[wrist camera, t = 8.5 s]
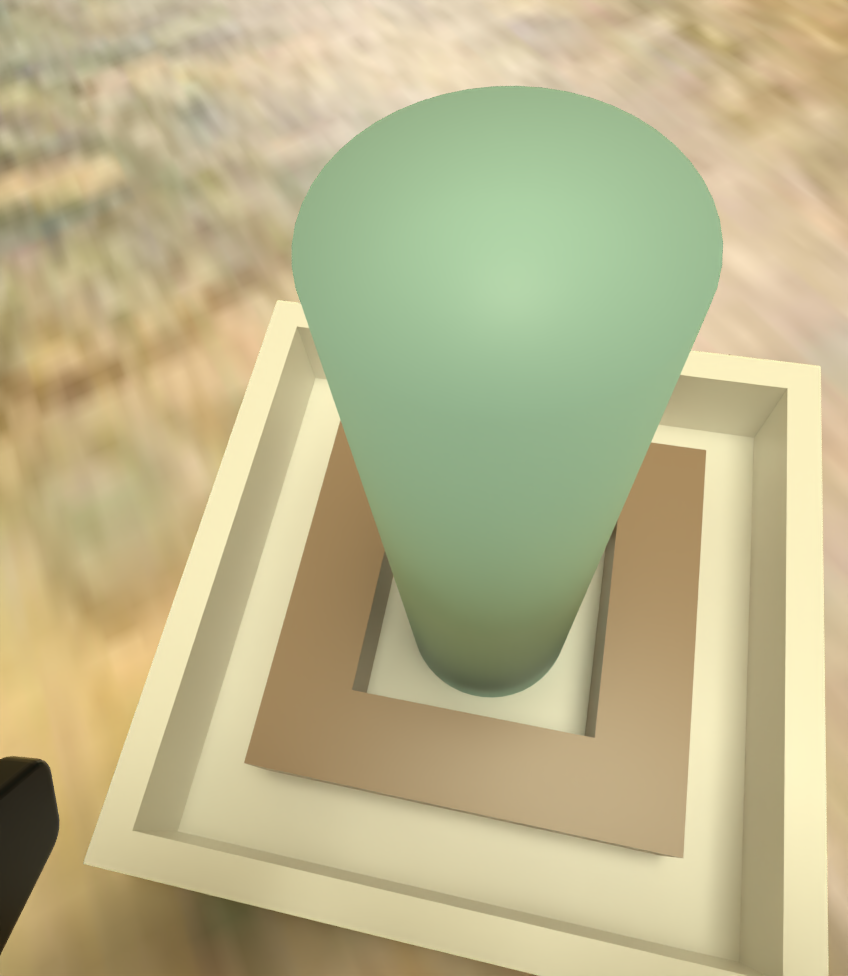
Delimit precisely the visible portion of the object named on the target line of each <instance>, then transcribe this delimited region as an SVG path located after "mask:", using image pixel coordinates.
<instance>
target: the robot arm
mask: <svg viewBox="0 0 848 976" xmlns="http://www.w3.org/2000/svg"><path fill="white" fill-rule="evenodd" d="M58 831H59V814H58V809H57V803H56V797H55V792H54V786H53V780H52V775H51V770H50V767H49V766H48V764H47V763H46V762H45V761H43V760H41V759H36V758H26V757H16V756H12V757H5V758H2V759H0V954H1V952H2V950H3V948H4V946H5V944H6V942H7V940H8V938H9V936H10V934H11V932H12V930H13V928H14V926H15V924H16V922H17V920H18V918H19V916H20V914H21V912H22V910H23V908H24V906H25V904H26V902H27V900H28V898H29V896H30V894H31V892H32V890H33V888H34V886H35V884H36V882H37V880H38V878H39V876H40V874H41V872H42V870H43V867H44V865H45V863H46V861H47V859H48V857H49V855H50V853H51V851H52V849H53V847H54V845H55V842H56V839H57V836H58Z"/></svg>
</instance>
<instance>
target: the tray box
mask: <svg viewBox="0 0 848 976" xmlns="http://www.w3.org/2000/svg"><path fill="white" fill-rule="evenodd" d="M83 864H86V865H90V866H94V867H98V868H102V869H106V870H110V871H114V872H118V873H122V874H126V875H130V876H135V877H139V878H143V879H147V880H151V881H155V882H159V883H163V884H167V885H171V886H175V887H179V888H183V889H188V890H192V891H196V892H200V893H204V894H208V895H212V896H216V897H220V898H224V899H228V900H232V901H236V902H241V903H245V904H249V905H253V906H257V907H261V908H265V909H269V910H273V911H277V912H281V913H285V914H289V915H294V916H298V917H302V918H306V919H310V920H314V921H318V922H322V923H326V924H330V925H334V926H338V927H342V928H347V929H351V930H355V931H359V932H363V933H367V934H371V935H375V936H379V937H383V938H387V939H391V940H395V941H400V942H404V943H408V944H412V945H416V946H420V947H424V948H428V949H432V950H436V951H440V952H444V953H448V954H453V955H457V956H461V957H465V958H469V959H473V960H477V961H481V962H485V963H489V964H493V965H497V966H501V967H506V968H510V969H514V970H518V971H522V972H526V973H530V974H534V975H538V976H829V971H828V894H827V818H826V741H825V665H824V588H823V512H822V435H821V366H815V365H807V364H799V363H791V362H782V361H774V360H766V359H758V358H750V357H741V356H733V355H725V354H717V353H708V352H700V351H692V350H691V351H690V353H689V356H688V358H687V360H686V362H685V365H684V367H683V369H682V372H681V374H680V376H679V379H678V381H677V383H676V386H675V388H674V390H673V393H672V395H671V397H670V400H669V402H668V404H667V407H666V409H665V411H664V413H663V416H662V418H661V420H660V423H659V425H658V427H657V430H656V432H655V434H654V437H653V439H652V441H651V444H650V446H649V448H648V451H647V453H646V455H645V457H644V460H643V462H642V464H641V467H640V469H639V471H638V474H637V476H636V478H635V481H634V483H633V485H632V488H631V490H630V492H629V495H628V497H627V499H626V502H625V504H624V506H623V508H622V511H621V513H620V515H619V518H618V520H617V522H616V525H615V527H614V529H613V532H612V534H611V536H610V539H609V541H608V543H607V546H606V548H605V550H604V553H603V555H602V557H601V559H600V562H599V564H598V566H597V569H596V571H595V573H594V576H593V578H592V580H591V583H590V585H589V587H588V590H587V592H586V594H585V597H584V599H583V601H582V603H581V606H580V608H579V610H578V613H577V615H576V617H575V620H574V622H573V624H572V627H571V629H570V631H569V634H568V636H567V638H566V641H565V643H564V645H563V648H562V650H561V652H560V654H559V657H558V658H557V660H556V662H555V663H554V665H553V666H552V668H551V669H550V670H549V671H548V673H547V674H546V675H545V676H544V677H543V678H542V679H540V680H539V681H538V682H536V683H535V684H534V685H532V686H531V687H529V688H527V689H525V690H523V691H521V692H518V693H515V694H512V695H508V696H503V697H493V698H492V697H479V696H474V695H470V694H467V693H464V692H461V691H459V690H457V689H455V688H452V687H451V686H449V685H448V684H446V683H445V682H443V681H442V680H441V679H440V678H439V677H437V676H436V675H435V674H434V672H433V671H432V670H431V669H430V668H429V667H428V665H427V664H426V662H425V661H424V659H423V657H422V656H421V654H420V652H419V649H418V646H417V644H416V641H415V638H414V635H413V632H412V629H411V626H410V623H409V620H408V617H407V614H406V611H405V608H404V605H403V602H402V599H401V597H400V594H399V591H398V588H397V585H396V582H395V579H394V576H393V573H392V570H391V567H390V564H389V561H388V558H387V555H386V552H385V549H384V547H383V544H382V541H381V538H380V535H379V532H378V529H377V526H376V523H375V520H374V517H373V514H372V511H371V508H370V505H369V502H368V499H367V497H366V494H365V491H364V488H363V485H362V482H361V479H360V476H359V473H358V470H357V467H356V464H355V461H354V458H353V455H352V452H351V449H350V447H349V444H348V441H347V438H346V435H345V432H344V429H343V426H342V423H341V420H340V417H339V414H338V411H337V408H336V405H335V402H334V399H333V397H332V394H331V391H330V388H329V385H328V382H327V379H326V376H325V373H324V370H323V367H322V364H321V361H320V358H319V355H318V352H317V349H316V346H315V344H314V341H313V338H312V335H311V332H310V329H309V326H308V323H307V320H306V317H305V314H304V311H303V308H302V305H301V303H297V302H289V301H281V300H277V303H276V306H275V309H274V312H273V314H272V317H271V320H270V323H269V326H268V329H267V332H266V335H265V338H264V341H263V343H262V346H261V349H260V352H259V355H258V358H257V361H256V364H255V367H254V370H253V372H252V375H251V378H250V381H249V384H248V387H247V390H246V393H245V396H244V398H243V401H242V404H241V407H240V410H239V413H238V416H237V419H236V422H235V425H234V427H233V430H232V433H231V436H230V439H229V442H228V445H227V448H226V451H225V454H224V456H223V459H222V462H221V465H220V468H219V471H218V474H217V477H216V480H215V483H214V485H213V488H212V491H211V494H210V497H209V500H208V503H207V506H206V509H205V512H204V514H203V517H202V520H201V523H200V526H199V529H198V532H197V535H196V538H195V541H194V543H193V546H192V549H191V552H190V555H189V558H188V561H187V564H186V567H185V570H184V572H183V575H182V578H181V581H180V584H179V587H178V590H177V593H176V596H175V599H174V601H173V604H172V607H171V610H170V613H169V616H168V619H167V622H166V625H165V627H164V630H163V633H162V636H161V639H160V642H159V645H158V648H157V651H156V654H155V656H154V659H153V662H152V665H151V668H150V671H149V674H148V677H147V680H146V683H145V685H144V688H143V691H142V694H141V697H140V700H139V703H138V706H137V709H136V712H135V714H134V717H133V720H132V723H131V726H130V729H129V732H128V735H127V738H126V741H125V743H124V746H123V749H122V752H121V755H120V758H119V761H118V764H117V767H116V770H115V772H114V775H113V778H112V781H111V784H110V787H109V790H108V793H107V796H106V799H105V801H104V804H103V807H102V810H101V813H100V816H99V819H98V822H97V825H96V828H95V830H94V833H93V836H92V839H91V842H90V845H89V848H88V851H87V854H86V856H85V859H84V862H83Z"/></svg>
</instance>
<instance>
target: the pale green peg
mask: <svg viewBox="0 0 848 976" xmlns="http://www.w3.org/2000/svg"><path fill="white" fill-rule="evenodd" d="M722 253H723V239H722V232H721V225H720V219H719V216H718V213H717V210H716V207H715V204H714V200H713V198H712V196H711V194H710V192H709V190H708V188H707V186H706V184H705V182H704V180H703V179H702V177H701V176H700V174H699V173H698V172H697V170H696V169H695V167H694V166H693V165H692V163H691V162H690V161H689V159H688V158H687V157H686V156H685V155H684V154H683V153H682V152H681V151H680V150H679V149H678V148H677V147H676V146H675V145H674V144H673V143H672V142H671V141H669V140H668V139H667V138H666V137H665V136H663V135H662V134H661V133H660V132H658V131H657V130H656V129H654V128H653V127H651V126H650V125H648V124H646V123H645V122H643V121H642V120H640V119H639V118H637V117H635V116H633V115H631V114H629V113H627V112H625V111H623V110H621V109H619V108H617V107H615V106H612V105H610V104H607V103H604V102H601V101H599V100H596V99H593V98H590V97H586V96H582V95H578V94H575V93H571V92H567V91H560V90H554V89H548V88H540V87H525V86H495V87H484V88H475V89H467V90H462V91H457V92H452V93H447V94H443V95H439V96H436V97H433V98H430V99H426V100H423V101H420V102H417V103H415V104H412V105H410V106H408V107H405V108H403V109H400V110H398V111H396V112H394V113H392V114H390V115H388V116H387V117H385V118H383V119H381V120H379V121H377V122H375V123H374V124H373V125H371V126H370V127H368V128H367V129H365V130H364V131H362V132H361V133H359V134H358V135H356V136H355V137H354V138H353V139H352V140H351V141H349V142H348V143H347V144H346V145H345V146H344V147H342V148H341V149H340V150H339V151H338V152H337V153H336V154H335V155H334V157H333V158H332V159H331V160H330V161H329V162H328V163H327V164H326V165H325V166H324V168H323V169H322V171H321V172H320V174H319V175H318V176H317V178H316V179H315V181H314V182H313V184H312V185H311V187H310V189H309V191H308V193H307V195H306V197H305V199H304V201H303V203H302V205H301V208H300V211H299V214H298V217H297V220H296V223H295V229H294V235H293V241H292V270H293V276H294V282H295V288H296V291H297V294H298V296H299V299H300V302H301V305H302V308H303V311H304V314H305V317H306V320H307V323H308V326H309V329H310V332H311V335H312V338H313V341H314V344H315V346H316V349H317V352H318V355H319V358H320V361H321V364H322V367H323V370H324V373H325V376H326V379H327V382H328V385H329V388H330V391H331V394H332V397H333V399H334V402H335V405H336V408H337V411H338V414H339V417H340V420H341V423H342V426H343V429H344V432H345V435H346V438H347V441H348V444H349V447H350V449H351V452H352V455H353V458H354V461H355V464H356V467H357V470H358V473H359V476H360V479H361V482H362V485H363V488H364V491H365V494H366V497H367V499H368V502H369V505H370V508H371V511H372V514H373V517H374V520H375V523H376V526H377V529H378V532H379V535H380V538H381V541H382V544H383V547H384V549H385V552H386V555H387V558H388V561H389V564H390V567H391V570H392V573H393V576H394V579H395V582H396V585H397V588H398V591H399V594H400V597H401V599H402V602H403V605H404V608H405V611H406V614H407V617H408V620H409V623H410V626H411V629H412V632H413V635H414V638H415V641H416V644H417V646H418V649H419V652H420V654H421V656H422V657H423V659H424V661H425V662H426V664H427V665H428V667H429V668H430V669H431V670H432V671H433V672H434V674H435V675H436V676H437V677H439V678H440V679H441V680H442V681H443V682H445V683H446V684H448V685H449V686H451V687H452V688H455V689H457V690H459V691H461V692H464V693H467V694H470V695H474V696H479V697H492V698H493V697H503V696H508V695H512V694H515V693H518V692H521V691H523V690H525V689H527V688H529V687H531V686H532V685H534V684H535V683H536V682H538V681H539V680H540V679H542V678H543V677H544V676H545V675H546V674H547V673H548V671H549V670H550V669H551V668H552V666H553V665H554V663H555V662H556V660H557V658H558V657H559V654H560V652H561V650H562V648H563V645H564V643H565V641H566V638H567V636H568V634H569V631H570V629H571V627H572V624H573V622H574V620H575V617H576V615H577V613H578V610H579V608H580V606H581V603H582V601H583V599H584V597H585V594H586V592H587V590H588V587H589V585H590V583H591V580H592V578H593V576H594V573H595V571H596V569H597V566H598V564H599V562H600V559H601V557H602V555H603V553H604V550H605V548H606V546H607V543H608V541H609V539H610V536H611V534H612V532H613V529H614V527H615V525H616V522H617V520H618V518H619V515H620V513H621V511H622V508H623V506H624V504H625V502H626V499H627V497H628V495H629V492H630V490H631V488H632V485H633V483H634V481H635V478H636V476H637V474H638V471H639V469H640V467H641V464H642V462H643V460H644V457H645V455H646V453H647V451H648V448H649V446H650V444H651V441H652V439H653V437H654V434H655V432H656V430H657V427H658V425H659V423H660V420H661V418H662V416H663V413H664V411H665V409H666V407H667V404H668V402H669V400H670V397H671V395H672V393H673V390H674V388H675V386H676V383H677V381H678V379H679V376H680V374H681V372H682V369H683V367H684V365H685V362H686V360H687V358H688V356H689V353H690V351H691V349H692V346H693V344H694V342H695V339H696V337H697V335H698V332H699V330H700V328H701V325H702V323H703V321H704V318H705V316H706V314H707V311H708V309H709V307H710V304H711V302H712V299H713V297H714V294H715V292H716V289H717V286H718V282H719V277H720V272H721V268H722Z"/></svg>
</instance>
